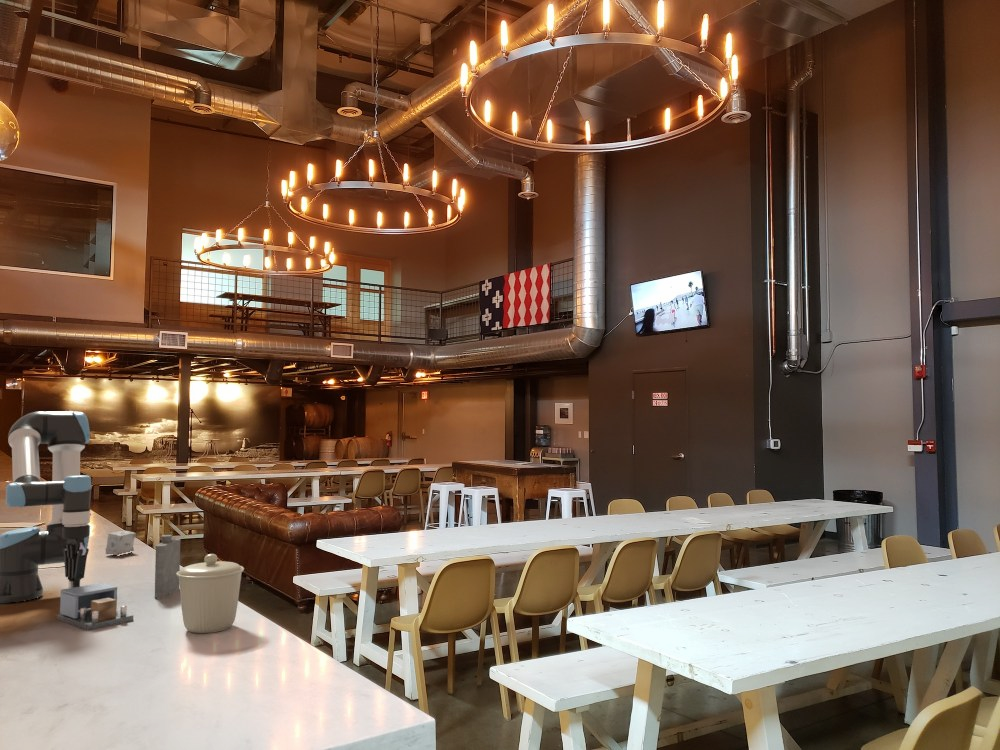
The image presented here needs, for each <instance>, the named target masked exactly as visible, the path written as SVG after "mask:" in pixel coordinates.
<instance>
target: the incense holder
mask: <svg viewBox="0 0 1000 750" xmlns="http://www.w3.org/2000/svg"><path fill="white" fill-rule="evenodd" d="M136 538H137V532H133V531H129V530H120V531H113V532H108V534H107V540H106V546H105V555H108V554H113V555H119V554H122V553H126V552H130V551H134V552H135V550H134V544H135V543H134V542H135V539H136ZM113 555H112V556H113Z"/></svg>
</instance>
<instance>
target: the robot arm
mask: <svg viewBox="0 0 1000 750" xmlns="http://www.w3.org/2000/svg"><path fill="white" fill-rule="evenodd" d="M89 425H90V424H89V420H88V416H87V415H86V413H85V412H82V411H73V410H69V411H67V410H65V411H59V410H58V411H42V410H41V411H39V410H38V411H34V412H33V411H32V412H29V413H26V414H25V415H23V416H22V417H19V418H18V419H17V420H16V421H15V422H14V423H13V424H12V425H11V427H10V429H9V430H8V435H7V439H8V440H7V441H8V442H7V443H8V444H9V446H10V448H11V456H12V457H11V460H12V463H11V464H12V482H11V483H10V482H9V483H8V484H7V485H6V487H5V505H6V506H7V507H8V508H15V507H17V508H24V507H25V508H26V507H35V506H37V507H38V506H39V507H40V506H51V520H50V521H49V522H48V523H47V524H46V529H45V530H41V528H40V527H39V526H27V527H22V528H17V529H13V530H9V531H5V532H3V533H1V535H0V604H9V603H8V602H16V603H19V602H18V601H24V600H29V601H31V600H30V599H34V598H37V597H40V596H42V595H43V596H44V588H43V584H42V581H41V579H40V576H39V566H43V565H53V564H64V575H65V578H67V581H68V588H74V587H80V586H81V580H82V579H84V578H85V572H86V565H87V558H88V555H89V550H90V549H89V548H88V546H89V542H90V541H89V540H90V534H91V533H90V532H91V531H90V529H91V525H89V523H90V522H91V516H92V512H91V499H92V497H91V495H92V486H93V485H92V478H91V476H90V475H85V474H83V475H81V452H82V451H83V450H84V449H85V448H86V444H89V442H90V440H91V439H90V438H91V436H90V434H91V432H90V426H89ZM40 444H42V445H43V444H44V445H45V444H47V449H48V450H49V452H50V453H52V472H51V473H52V477H51V478H52V479H51V481H41V480H42V479H41V467H40V466H41V465H40V456H39V446H40ZM43 596H42V597H43ZM40 598H41V597H40ZM37 599H38V598H37ZM34 600H35V599H34ZM24 602H25V601H24Z"/></svg>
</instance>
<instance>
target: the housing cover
mask: <svg viewBox="0 0 1000 750" xmlns="http://www.w3.org/2000/svg"><path fill="white" fill-rule="evenodd" d="M104 598H112V599H115V600H116V610H117V609H118V608H117V607H118V604H117V603H118V586H116V585H111V584H108V583H104V582H99V583H94V584H87V585H80V587H74V588H69V587H68V588H64V589H60V599H59V600H60V602H59V604H60V605H59V607H60V609H59V614H63V615H66V616H69V617H72V618H78V610H80V608H82V607H86V609H88V608H91V601H93V600H98V599H104Z"/></svg>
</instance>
